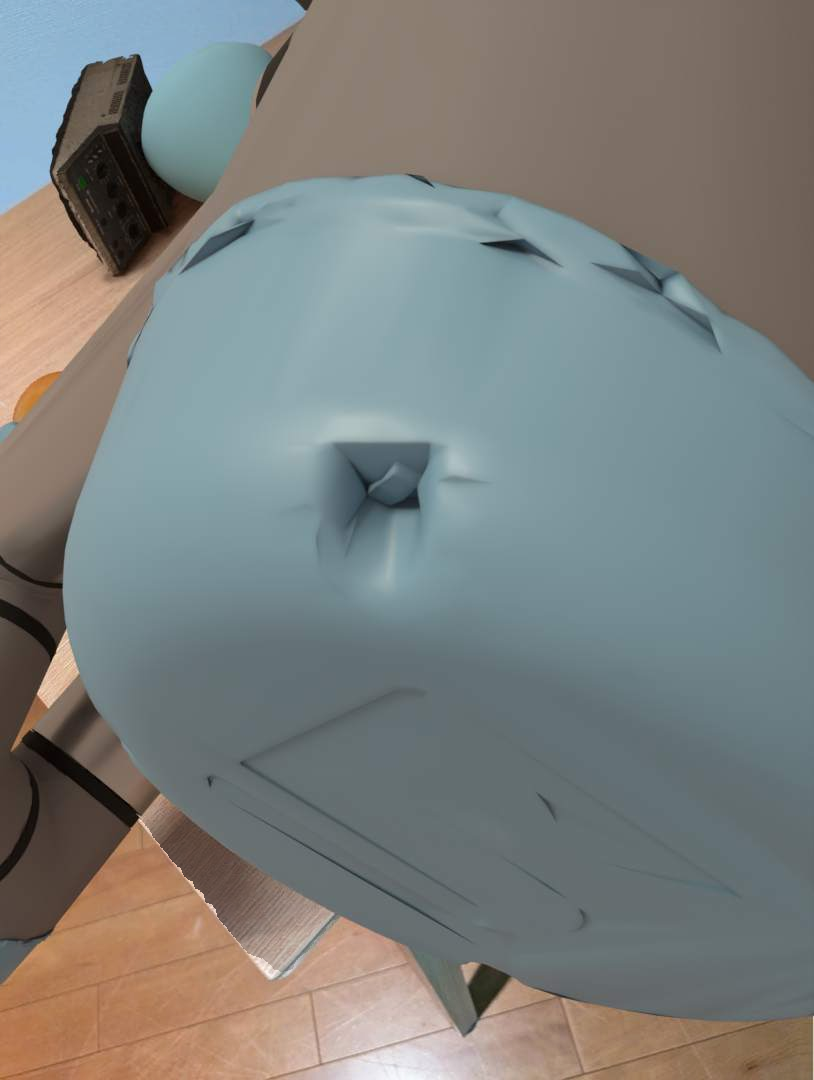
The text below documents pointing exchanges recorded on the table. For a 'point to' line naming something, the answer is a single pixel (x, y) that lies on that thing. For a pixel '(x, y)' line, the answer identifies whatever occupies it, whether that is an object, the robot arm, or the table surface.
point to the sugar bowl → (201, 115)
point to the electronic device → (110, 163)
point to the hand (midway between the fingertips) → (368, 442)
